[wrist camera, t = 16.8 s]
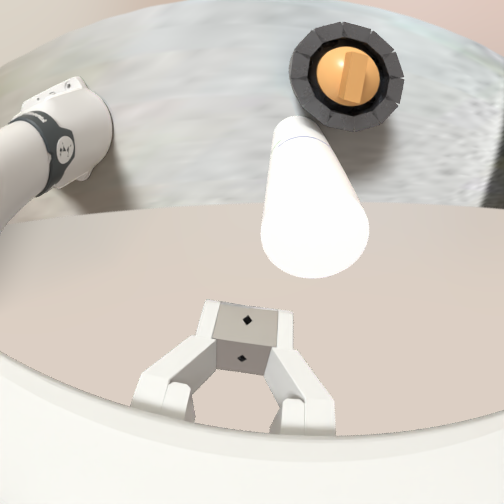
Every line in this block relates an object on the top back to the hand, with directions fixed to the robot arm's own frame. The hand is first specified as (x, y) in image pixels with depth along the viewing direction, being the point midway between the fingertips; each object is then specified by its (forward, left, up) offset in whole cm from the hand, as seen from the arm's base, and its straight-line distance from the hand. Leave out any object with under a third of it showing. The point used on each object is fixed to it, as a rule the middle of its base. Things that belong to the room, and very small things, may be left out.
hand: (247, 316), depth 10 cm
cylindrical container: (+4, -2, -34) cm, 35 cm away
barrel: (+7, +8, -34) cm, 36 cm away
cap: (+7, +8, -26) cm, 28 cm away
